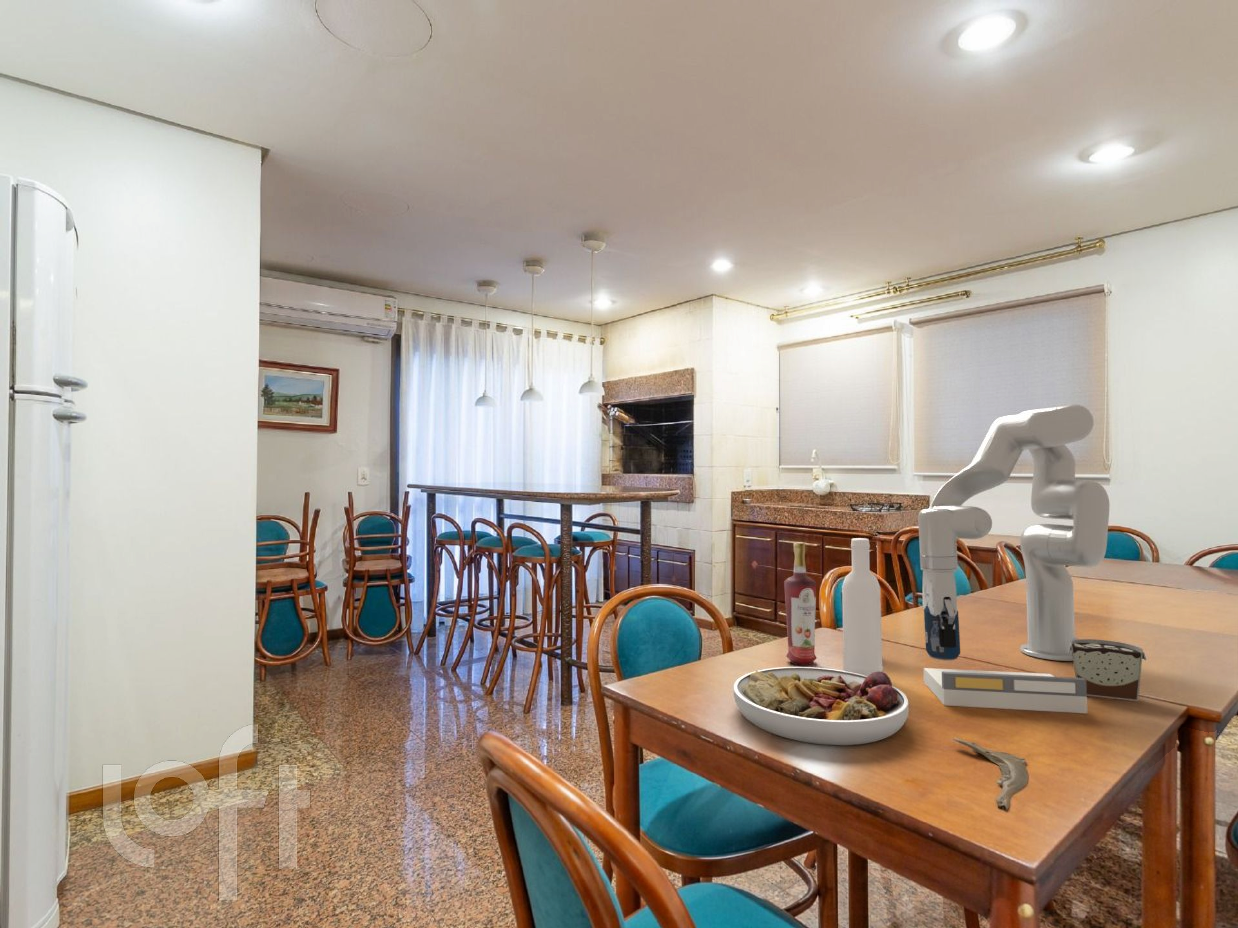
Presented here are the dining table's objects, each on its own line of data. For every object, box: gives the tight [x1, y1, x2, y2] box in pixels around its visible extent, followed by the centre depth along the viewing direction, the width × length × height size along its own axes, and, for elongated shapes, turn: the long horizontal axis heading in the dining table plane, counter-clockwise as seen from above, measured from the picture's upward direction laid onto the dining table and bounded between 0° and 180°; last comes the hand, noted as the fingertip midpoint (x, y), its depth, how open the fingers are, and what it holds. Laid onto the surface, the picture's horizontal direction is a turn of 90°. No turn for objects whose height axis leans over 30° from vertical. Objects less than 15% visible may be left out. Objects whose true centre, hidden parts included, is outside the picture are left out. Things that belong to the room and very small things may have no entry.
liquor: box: [783, 542, 817, 666], centre depth 149 cm, size 7×7×28 cm
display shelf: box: [923, 667, 1088, 714], centre depth 124 cm, size 24×14×6 cm, turn 79°
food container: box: [1068, 638, 1147, 702], centre depth 126 cm, size 12×6×10 cm, turn 65°
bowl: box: [733, 666, 910, 746], centre depth 114 cm, size 30×30×8 cm
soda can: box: [923, 603, 961, 661], centre depth 142 cm, size 7×7×12 cm
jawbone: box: [952, 737, 1030, 811], centre depth 90 cm, size 9×20×2 cm, turn 168°
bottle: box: [841, 537, 884, 676], centre depth 137 cm, size 8×8×30 cm
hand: (942, 641), depth 142 cm, fingers closed on soda can, 6 cm apart
